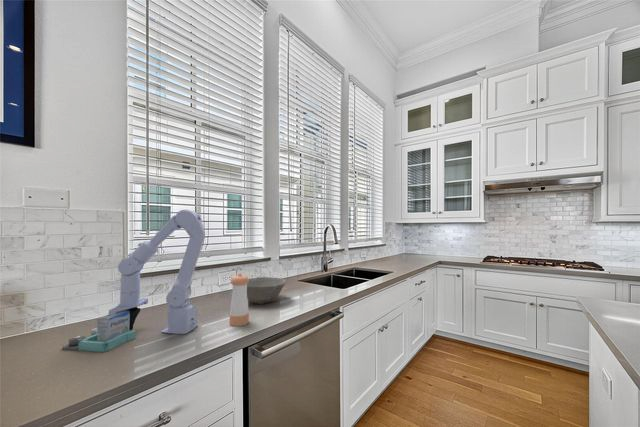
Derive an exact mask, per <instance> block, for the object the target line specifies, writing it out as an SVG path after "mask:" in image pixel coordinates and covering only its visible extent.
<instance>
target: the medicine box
mask: <svg viewBox="0 0 640 427" xmlns="http://www.w3.org/2000/svg"><path fill="white" fill-rule="evenodd" d="M129 324H130V311H122V312H119V313H117V314H116V315H109V313H108V314H106V315H103V316H100V317H98V318H97V327H96V328H97V341H98V342H107V341H109V340H111V339H113V338H115V337H117V336H119V335H122V334H124V333H126V332H130V330H129Z"/></svg>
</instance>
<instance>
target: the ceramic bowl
mask: <svg viewBox="0 0 640 427" xmlns="http://www.w3.org/2000/svg"><path fill="white" fill-rule="evenodd" d="M248 279H249V282H248V284H247V300H249V301H250V302H252V303H254V304H256V305H257V304H258V305H262V304H267V303H271V302H272V303H273V302H274V301H275V300H276V299H278V297H279V294H280V293H281V292H282V290H283V287H285V285H286V283H287V280H286V279H285V278H281V277H272V276H267V277H266V276H260V277H251V278H248Z"/></svg>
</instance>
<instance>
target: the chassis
mask: <svg viewBox="0 0 640 427" xmlns="http://www.w3.org/2000/svg"><path fill="white" fill-rule="evenodd" d="M136 332H137V331H136V330H135V329H134V330H129V332H126V333H124V334H122V335H119V336H117V337H115V338H113V339H111V340H109V341H107V342H98V341H97V327H95V328H91V331H90V335H87V336H85V335H84V336H83V335H77V336H74V337H72V338H70V339H68V344H65V345H63V346H62V350H69V351H87V352H98V353H99V352H100V353H101V352H102V353H106V352H108V351H110V350H112V349H114V348H116V347H118V346H120V345H122V344H123V343H125V342H128V341H132V340H134V339H136V336H137V335H136V334H137V333H136Z"/></svg>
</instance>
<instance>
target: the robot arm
mask: <svg viewBox="0 0 640 427" xmlns="http://www.w3.org/2000/svg"><path fill="white" fill-rule="evenodd" d="M202 219H203V218H202V217H201V216H200V215H199V213H198V212H196V211H194V210H189V209H181V210H179V211H177V213H176V214H175V215H173V216H172V217H171V218H170V219H169V220H168V221H167V222H166V223H165V224H164V225H163V226H162V227H161V228H160V229H159V230H158V231H157V233H155V235H154V236H152V238H151V239H150V240H144V241H142V242H139V243H138V244H137V246H138V247H137V248H136V249H135V250H133V251H132V253H131V252H130V253H128V254H127V257H125V258H124V259H121V261H119V263H118V266H117V269H118V272H119V273H120V289H119V290H120V292H119V294H120V295H119V296H120V297H119V303H117V305H116V306H114V307H112V308H110V309H109V310H108V314H109V315H116V314H117V313H119V312H122V311H130V324H129V331H133V329H134V325H135V322H136V319H137V317H138V315H139V314H140V312H141V308H140V306H143V305H148V304H149V298H147V297H142V298H140V296H141V295H140V294H141V292H140V290H141V271H142V270H143V268H144V265H145V264H147V262H148V261H149V260H150V259H151V258H153V256H154V255H156V254H157V253H158V250H159V246H160V245H161V244H162V243H163V242H164V241H165V240H166V239H167V238H168V237H170V236H171V235H172V233H174V232H176V231H177V230H181V229H182V230H184V231H185V232H186V233H187V235H188V236H189V240H188V242H187V246H186V249H185V251H184V255H183V258H182V262H181V264H180V268H179V270H178V275H177V277H176V279H175V281H174V283H173V285H172V287H171V290H170V291H168V293H167V294H166V296H165V300H166V304H167V325H166V326H167V327H166V328H164V329H162V330H161V333H166V334H176V335H177V334H178V335H179V334H180V335H186V334H188V333H189V332H191V331H192V330H194V329H195V328H197V327H198V326H199V324H198V308H197V306H196V305H194V304H193V305H192V304H191V302H190V299H189V298H190V297H191V295H192V288H191V286H192V282H193V281H192V279H193V277H194V272H195V269H196V266H197V263H198V260H199V256H200V254H201V251H202V247H203V244H204V241H205V237H206V231H205V228H204V224H203V220H202Z"/></svg>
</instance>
